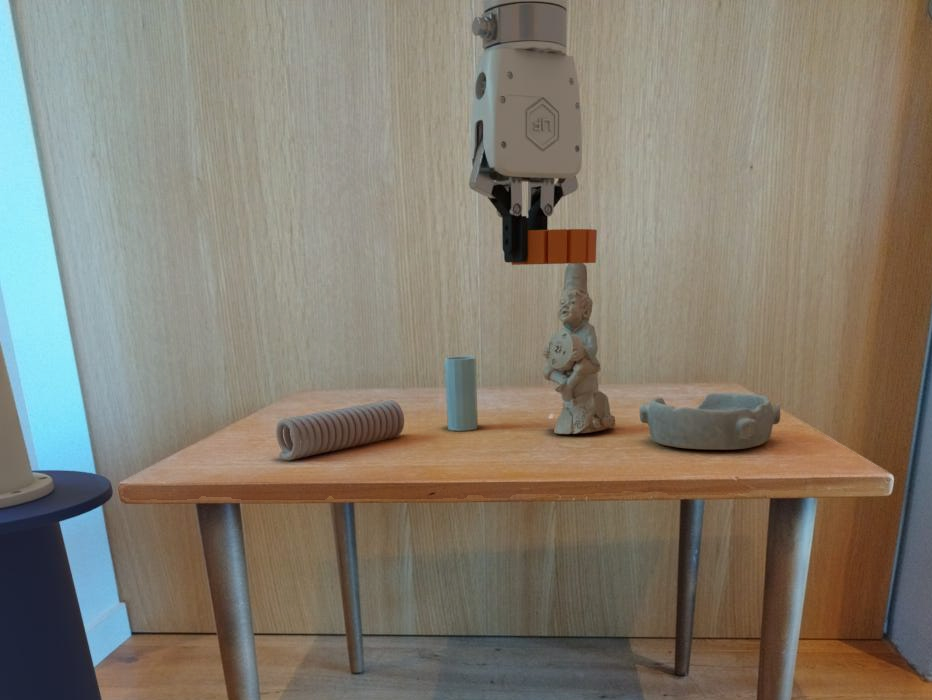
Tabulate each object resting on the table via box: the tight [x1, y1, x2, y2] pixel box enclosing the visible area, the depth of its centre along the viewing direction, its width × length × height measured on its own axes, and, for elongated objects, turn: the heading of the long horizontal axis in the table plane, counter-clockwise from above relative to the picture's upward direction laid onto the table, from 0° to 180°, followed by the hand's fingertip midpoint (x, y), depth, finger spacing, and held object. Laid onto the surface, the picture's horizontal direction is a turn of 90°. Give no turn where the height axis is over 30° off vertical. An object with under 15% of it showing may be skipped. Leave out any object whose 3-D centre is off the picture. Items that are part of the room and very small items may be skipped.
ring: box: [510, 228, 598, 266], centre depth 85 cm, size 8×8×3 cm
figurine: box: [541, 263, 617, 435], centre depth 105 cm, size 9×8×20 cm
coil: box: [275, 399, 405, 461], centre depth 103 cm, size 5×5×18 cm
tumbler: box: [444, 355, 479, 432], centre depth 112 cm, size 4×4×9 cm
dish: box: [639, 392, 781, 451], centre depth 99 cm, size 14×14×5 cm
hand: (525, 260), depth 84 cm, fingers closed on ring, 1 cm apart
